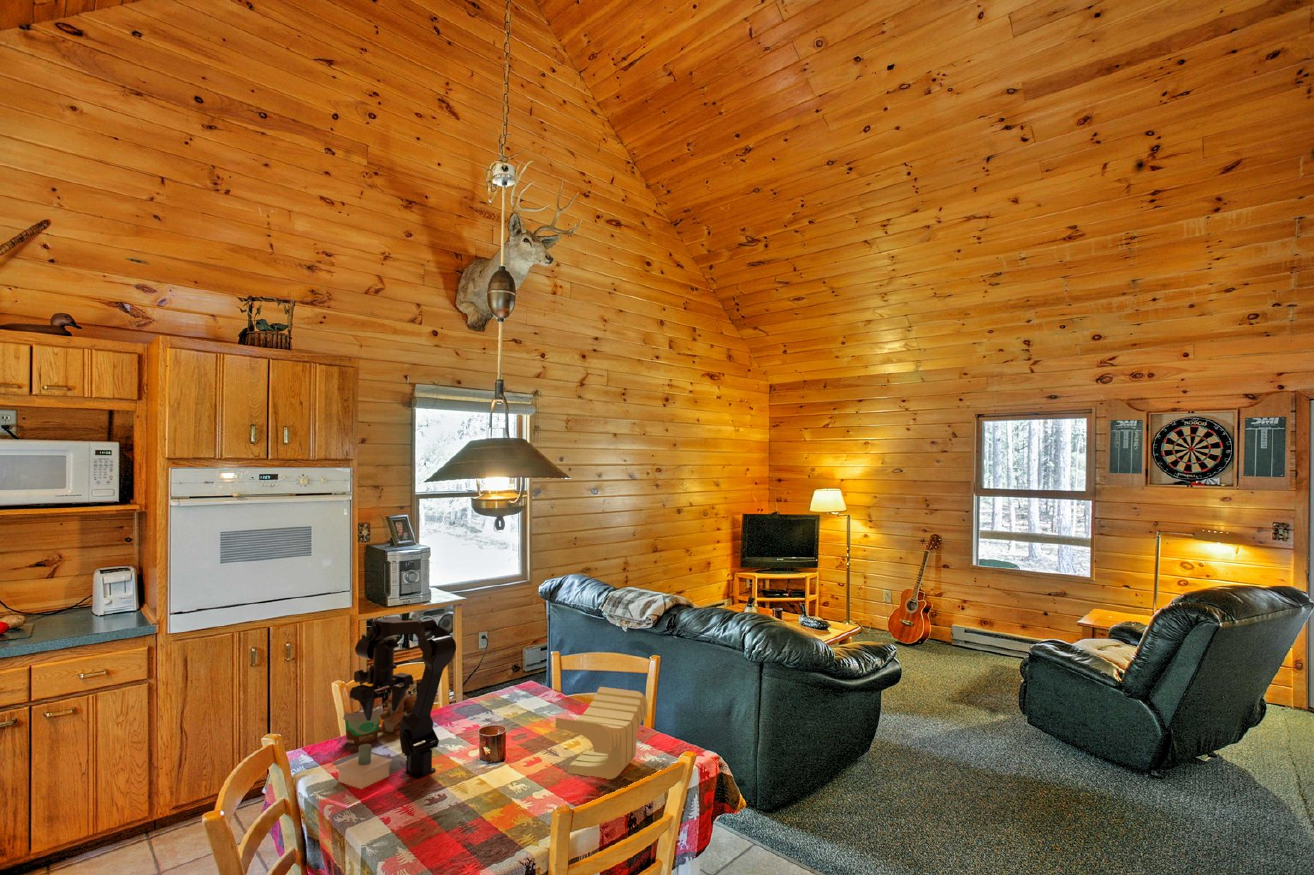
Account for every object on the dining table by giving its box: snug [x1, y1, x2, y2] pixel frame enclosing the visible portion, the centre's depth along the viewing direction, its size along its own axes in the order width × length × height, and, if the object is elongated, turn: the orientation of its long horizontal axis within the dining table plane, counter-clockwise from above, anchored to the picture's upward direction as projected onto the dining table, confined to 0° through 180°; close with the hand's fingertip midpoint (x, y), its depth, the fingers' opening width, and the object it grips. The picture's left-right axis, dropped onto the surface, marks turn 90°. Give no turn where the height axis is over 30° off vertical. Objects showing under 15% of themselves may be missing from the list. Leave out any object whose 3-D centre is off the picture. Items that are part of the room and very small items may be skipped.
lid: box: [335, 743, 393, 777], centre depth 186 cm, size 10×10×5 cm
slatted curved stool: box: [554, 686, 648, 780], centre depth 197 cm, size 30×16×18 cm, turn 161°
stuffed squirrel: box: [378, 690, 417, 736], centre depth 224 cm, size 10×14×13 cm
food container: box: [343, 702, 384, 745], centre depth 212 cm, size 12×6×10 cm, turn 143°
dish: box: [337, 764, 390, 790], centre depth 185 cm, size 9×9×4 cm
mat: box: [331, 751, 390, 766], centre depth 197 cm, size 11×11×1 cm
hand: (381, 715), depth 202 cm, fingers open, 9 cm apart
